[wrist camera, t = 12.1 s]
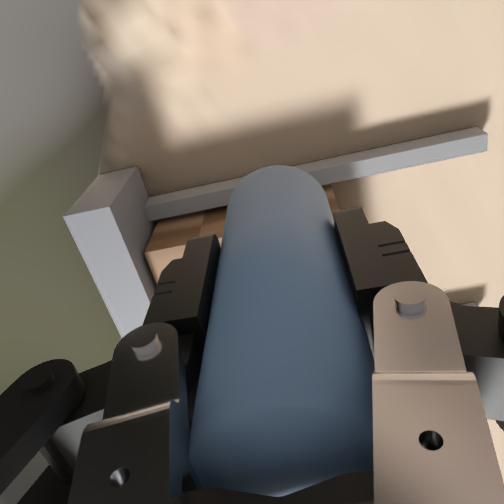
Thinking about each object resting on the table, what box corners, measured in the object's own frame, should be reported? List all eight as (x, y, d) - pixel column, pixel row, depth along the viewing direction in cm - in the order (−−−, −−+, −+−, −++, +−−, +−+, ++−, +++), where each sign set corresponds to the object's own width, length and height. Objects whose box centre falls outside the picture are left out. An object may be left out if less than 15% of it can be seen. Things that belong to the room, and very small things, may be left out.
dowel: (216, 177, 14) (153, 424, 6) (321, 154, 13) (398, 391, 6) (240, 264, 15) (215, 550, 8) (335, 247, 15) (411, 531, 7)
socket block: (159, 217, 29) (143, 252, 25) (330, 182, 28) (341, 213, 24) (206, 345, 35) (199, 390, 31) (351, 320, 33) (364, 365, 29)
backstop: (99, 174, 28) (62, 216, 23) (476, 89, 25) (532, 115, 20) (185, 380, 37) (173, 444, 32) (474, 334, 34) (512, 397, 29)
